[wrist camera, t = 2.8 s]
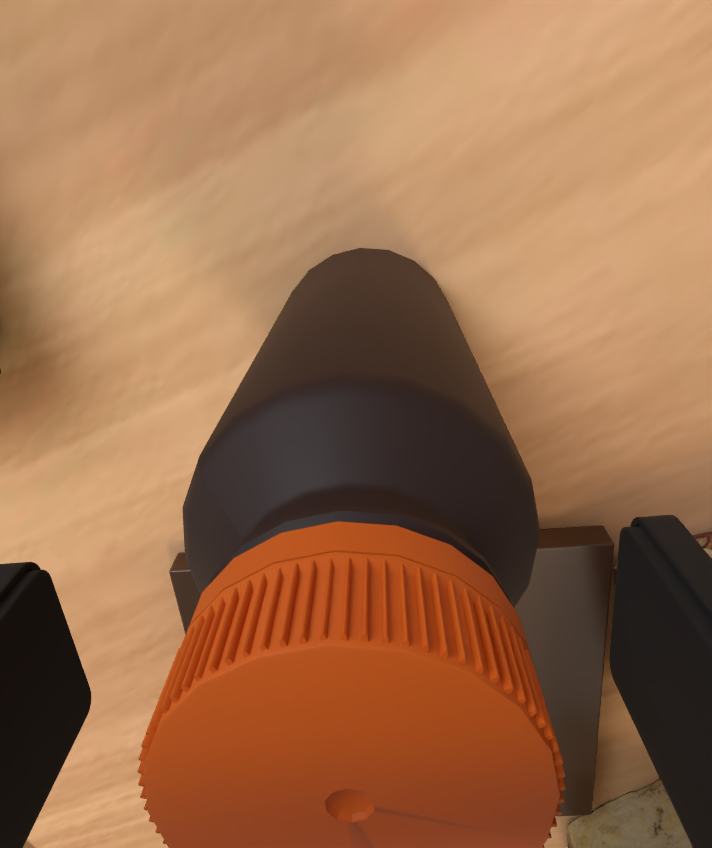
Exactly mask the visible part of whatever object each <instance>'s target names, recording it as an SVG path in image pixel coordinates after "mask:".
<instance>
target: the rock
mask: <svg viewBox="0 0 712 848" xmlns="http://www.w3.org/2000/svg"><path fill="white" fill-rule="evenodd" d="M567 839H568V848H693V847H692V845H691V843H690V841H689V839H688V836H687V834H686V832H685V830H684V828H683V826H682V824H681V822H680V819H679V817H678V815H677V813H676V811H675V809H674V807H673V805H672V802H671V800H670V798H669V796H668V794H667V792H666V790H665V788H664V786H663V783H662V781H661V779H660V780H658V781H656V782H655V783H654V784H653V785H650V786H648V787H645V788H643V789H641V790H639V791H637V792H630V793H628V794H625V795H623V796H621V797H620V798H618V799H617V800H614V801H611V802H608V803H607V804H605V805H604V806H602V807H600V808H599V809H597V810H595V811H594V812H593V813H591V815H584V816H581V817H578V818H577V819H576V820H574V821H573V822H572V823H571V824H570V825H568V827H567Z"/></svg>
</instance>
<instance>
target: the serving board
mask: <svg viewBox="0 0 712 848" xmlns="http://www.w3.org/2000/svg"><path fill="white" fill-rule="evenodd" d="M613 550H614V543H613V541H612V540H611V538H610V536H609V535H608V533H607V531H606V530H605V528H604V526H589V527H573V528H558V529H542V530H540V537H539V542H538V546H537V551H536V555H535V560H534V564H533V569H532V574H531V578H530V582H529V586H528V587H527V589H526V590H525V592H524V594H523V595H522V597H521V598H520V600H519V601H518V603H517V605H516V606H515V608H514V609H515V611H516V612H517V614H518V615H519V618H520V622H521V625H522V628H523V632H524V635H525V638H526V641H527V645H528V648H529V651H530V654H531V658H532V662H533V665H534V668H535V671H536V675H537V678H538V681H539V684H540V688H541V691H542V694H543V697H544V701H545V704H546V707H547V711H548V714H549V717H550V720H551V724H552V727H553V730H554V733H555V737H556V740H557V743H558V746H559V750H560V753H561V757H562V760H563V764H562V766H563V769H564V773H565V777H563V781H564V784H565V788H566V789H565V790H563V791H562V794H563V798H564V801H565V802H563V803H559V806H560V810H561V813H562V814H561V815H555V816H574V815H591V810H592V799H593V787H594V775H595V763H596V751H597V739H598V727H599V716H600V704H601V692H602V680H603V668H604V656H605V644H606V633H607V621H608V609H609V597H610V585H611V573H612V561H613ZM170 576H171V580H172V584H173V588H174V592H175V596H176V599H177V603H178V607H179V611H180V615H181V618H182V622H183V626H184V630H185V634H186V633H187V630H188V628H189V625H190V623H191V620H192V617H193V615H194V612H195V610H196V607H197V604H198V602H199V599H200V597H201V594H200V592H199V590H198V587H197V585H196V583H195V580H194V578H193V576H192V573H191V571H190V569H189V567H188V564H187V562H186V557H185V553H178V555H177V557H176V559H175V561H174V563H173V565H172V567H171V569H170Z"/></svg>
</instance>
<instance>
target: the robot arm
mask: <svg viewBox="0 0 712 848" xmlns="http://www.w3.org/2000/svg"><path fill="white" fill-rule="evenodd" d="M610 668H611V672H612V676H613V679H614V681H615V684H616V686H617V688H618V690H619V692H620V694H621V696H622V699H623V701H624V703H625V705H626V707H627V709H628V711H629V713H630V716H631V718H632V720H633V722H634V724H635V726H636V728H637V730H638V733H639V735H640V737H641V739H642V741H643V743H644V745H645V747H646V749H647V752H648V754H649V756H650V758H651V760H652V762H653V764H654V766H655V769H656V771H657V773H658V775H659V777H660V779H661V781H662V783H663V786H664V788H665V790H666V792H667V794H668V796H669V798H670V800H671V802H672V805H673V807H674V809H675V811H676V813H677V815H678V817H679V819H680V822H681V824H682V826H683V828H684V830H685V832H686V834H687V836H688V839H689V841H690V843H691V845H692V847H693V848H712V558H711V557H710V556H709V555H708V553H707V552H706V551H705V550H704V549H703V548H702V546H701V545H700V544H699V543H698V542H697V541H696V539H695V538H694V537H693V536H692V535H691V534H690V532H689V531H688V530H687V529H686V528H685V526H684V525H683V524H682V523H681V522H680V521H679V519H678V518H676V517H675V516H673V515H662V516H649V517H636V518H635V519H633V521H632V523H631V527H625V528H623V529H622V530H621V533H620V541H619V552H618V564H617V575H616V587H615V598H614V610H613V622H612V633H611V645H610ZM90 705H91V691H90V687H89V684H88V681H87V679H86V676H85V673H84V670H83V667H82V664H81V661H80V659H79V656H78V653H77V650H76V647H75V644H74V642H73V639H72V636H71V633H70V630H69V627H68V625H67V622H66V619H65V616H64V613H63V610H62V608H61V605H60V602H59V599H58V596H57V593H56V590H55V588H54V585H53V582H52V579H51V577H50V575H49V573H48V572H47V571H45V570H40V568H39V566H38V565H37V564H36V563H33V562H24V563H10V564H0V848H23V846H24V844H25V842H26V840H27V838H28V836H29V834H30V832H31V829H32V827H33V825H34V823H35V821H36V819H37V817H38V815H39V813H40V811H41V809H42V807H43V805H44V803H45V801H46V799H47V797H48V795H49V793H50V791H51V789H52V786H53V784H54V782H55V780H56V778H57V776H58V774H59V772H60V770H61V768H62V766H63V764H64V762H65V760H66V758H67V756H68V754H69V752H70V750H71V748H72V746H73V743H74V741H75V739H76V737H77V735H78V733H79V731H80V729H81V727H82V725H83V723H84V721H85V719H86V717H87V715H88V712H89V709H90Z"/></svg>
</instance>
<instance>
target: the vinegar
mask: <svg viewBox="0 0 712 848" xmlns="http://www.w3.org/2000/svg"><path fill="white" fill-rule="evenodd" d="M183 525H184V543H185V557H186V562H187V564H188V567H189V569H190V571H191V573H192V576H193V578H194V580H195V583H196V585H197V587H198V590H199V592H200V594H201V597H200V599H199V602H198V604H197V607H196V610H195V612H194V615H193V617H192V620H191V623H190V625H189V628H188V630H187V633H186V636H185V637H184V640H183V642H182V645H181V648H179V650H178V652H177V655H176V657H175V660H174V662H173V665H172V668H171V670H170V673H169V675H168V678H167V680H166V683H165V686H164V688H163V691H162V693H161V696H160V698H159V701H158V704H157V706H156V709H155V711H154V714H153V716H152V719H151V721H150V724H149V727H148V729H147V732H146V735H145V738H144V741H143V743H142V746H141V747H142V748H143V749H142V751H141V754H140V757H139V760H140V761H141V764H140V766H139V769H138V773H140V774H142V775H141V778H140V781H139V783H138V785H139V786H143V787H144V788H143V791H142V793H141V796H140V797H141V798H144V799H147V802H146V804H145V807H144V810H148V812H149V814H150V819H149V821H150V822H154V823H155V824H156V826H157V829H156V833H161V835H162V837H163V838H164V842H163V843H164V844H167V845H168V847H169V848H544V845H543V844H544V843H545V842H546V841H547V839H548V838H551V833H550V829H551V827H557V823H556V819H555V815H561V814H562V813H561V810H560V806H559V803H563V802H565V801H564V798H563V794H562V791H563V790H565V789H566V788H565V784H564V781H563V777H565V773H564V769H563V766H562V764H563V760H562V757H561V753H560V750H559V746H558V743H557V740H556V737H555V733H554V730H553V727H552V724H551V720H550V717H549V714H548V711H547V707H546V704H545V701H544V697H543V694H542V691H541V688H540V684H539V681H538V678H537V675H536V671H535V668H534V665H533V662H532V658H531V654H530V651H529V648H528V645H527V641H526V638H525V635H524V632H523V628H522V625H521V622H520V618H519V615H518V614H517V612H516V611H515V609H514V608H515V606H516V605H517V603H518V601H519V600H520V598H521V597H522V595H523V594H524V592H525V590H526V589H527V587H528V586H529V582H530V578H531V574H532V569H533V564H534V560H535V555H536V551H537V546H538V542H539V537H540V529H539V523H538V516H537V510H536V504H535V498H534V492H533V485H532V481H531V478H530V476H529V473H528V471H527V469H526V467H525V465H524V463H523V461H522V459H521V456H520V454H519V452H518V450H517V448H516V446H515V444H514V442H513V439H512V437H511V435H510V433H509V431H508V429H507V427H506V425H505V422H504V420H503V418H502V416H501V414H500V412H499V410H498V408H497V405H496V403H495V401H494V399H493V397H492V395H491V393H490V391H489V388H488V386H487V384H486V382H485V380H484V378H483V376H482V374H481V371H480V369H479V367H478V365H477V363H476V361H475V359H474V357H473V354H472V352H471V350H470V348H469V346H468V344H467V342H466V340H465V337H464V335H463V333H462V331H461V329H460V327H459V325H458V323H457V320H456V318H455V316H454V314H453V312H452V310H451V308H450V306H449V303H448V302H447V300H446V298H445V296H444V295H443V293H442V291H441V289H440V288H439V286H438V284H437V282H436V281H435V279H434V278H433V277H432V276H431V275H429V274H428V273H427V272H426V271H425V270H424V269H423V268H421V267H420V266H419V265H418V264H417V263H416V262H415V261H413V260H411V259H408V258H406V257H403V256H401V255H399V254H396V253H394V252H391V251H389V250H380V249H366V248H358V249H354V250H351V251H347V252H343V253H339V254H335V255H332V256H331V257H329V258H327V259H326V260H324V261H323V262H321V263H320V264H318V265H317V266H315V267H314V268H312V269H310V270H309V271H308V273H307V274H306V275H305V276H304V278H303V279H302V280H301V281H300V283H299V284H298V285H297V287H296V288H295V289H294V290H293V292H292V293H291V295H290V297H289V299H288V301H287V302H286V304H285V306H284V308H283V309H282V311H281V313H280V315H279V316H278V318H277V320H276V322H275V324H274V325H273V327H272V329H271V331H270V332H269V334H268V336H267V338H266V339H265V341H264V343H263V345H262V347H261V348H260V350H259V352H258V354H257V355H256V357H255V359H254V361H253V362H252V364H251V366H250V368H249V370H248V371H247V373H246V375H245V377H244V378H243V380H242V382H241V384H240V385H239V387H238V389H237V391H236V393H235V394H234V396H233V398H232V400H231V401H230V403H229V405H228V407H227V408H226V410H225V412H224V414H223V416H222V417H221V419H220V421H219V423H218V424H217V426H216V428H215V430H214V431H213V433H212V435H211V437H210V439H209V440H208V442H207V444H206V446H205V447H204V449H203V451H202V453H201V454H200V457H199V460H198V463H197V466H196V469H195V472H194V475H193V478H192V481H191V484H190V487H189V490H188V493H187V496H186V499H185V502H184V505H183Z"/></svg>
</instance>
